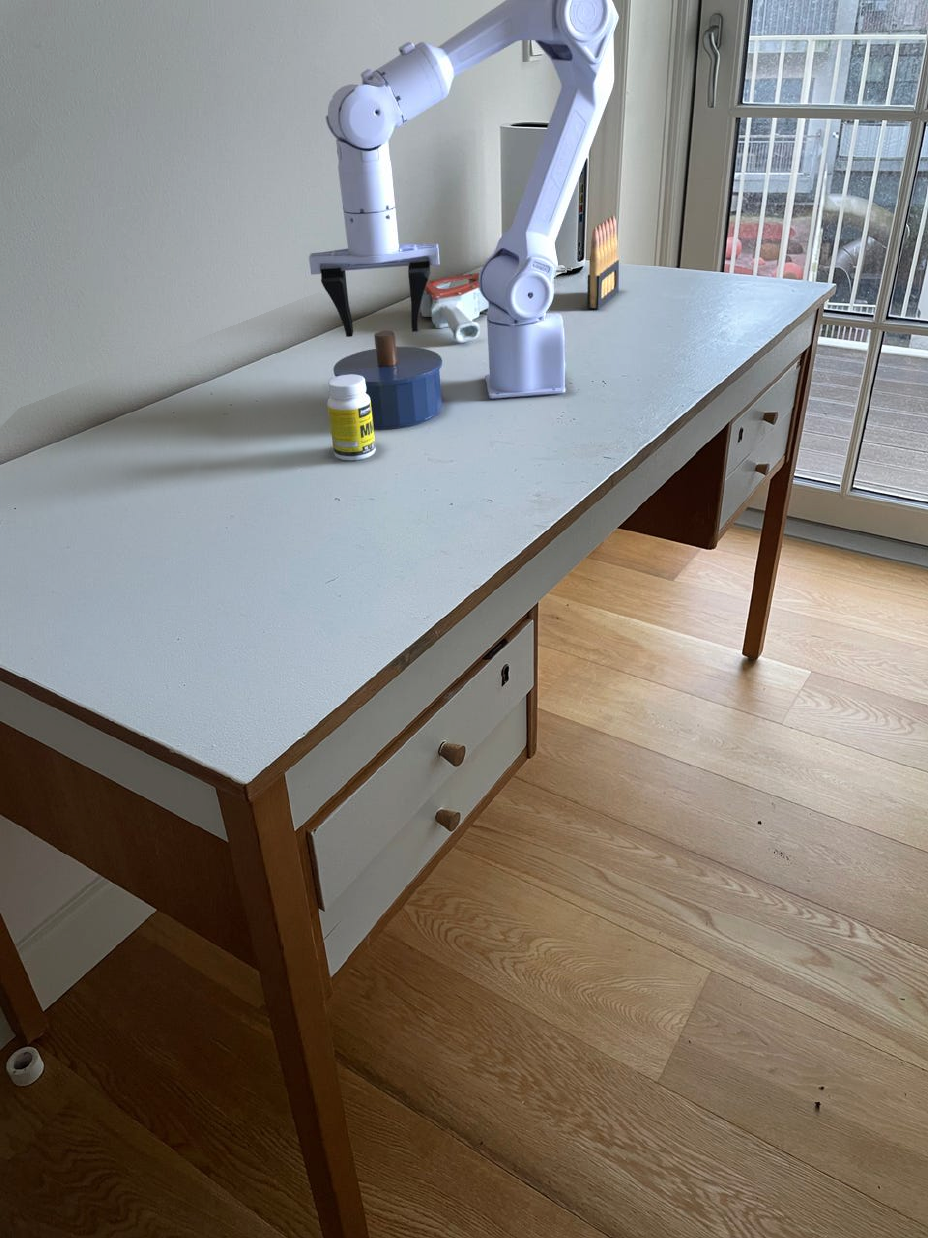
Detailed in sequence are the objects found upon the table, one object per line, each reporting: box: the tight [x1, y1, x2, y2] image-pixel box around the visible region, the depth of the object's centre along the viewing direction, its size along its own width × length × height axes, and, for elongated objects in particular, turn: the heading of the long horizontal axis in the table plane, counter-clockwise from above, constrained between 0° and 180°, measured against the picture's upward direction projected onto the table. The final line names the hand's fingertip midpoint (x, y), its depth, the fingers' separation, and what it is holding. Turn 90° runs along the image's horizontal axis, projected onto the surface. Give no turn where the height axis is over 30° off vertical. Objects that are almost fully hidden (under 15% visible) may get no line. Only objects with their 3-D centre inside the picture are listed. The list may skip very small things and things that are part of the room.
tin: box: [365, 369, 443, 430], centre depth 119 cm, size 12×12×5 cm
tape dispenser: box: [420, 272, 489, 344], centre depth 149 cm, size 18×5×20 cm
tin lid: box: [333, 330, 443, 386], centre depth 116 cm, size 13×13×5 cm
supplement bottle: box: [326, 375, 377, 461], centre depth 107 cm, size 5×5×8 cm
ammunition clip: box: [586, 214, 620, 311], centre depth 152 cm, size 11×2×12 cm, turn 155°
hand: (382, 331), depth 115 cm, fingers open, 7 cm apart
